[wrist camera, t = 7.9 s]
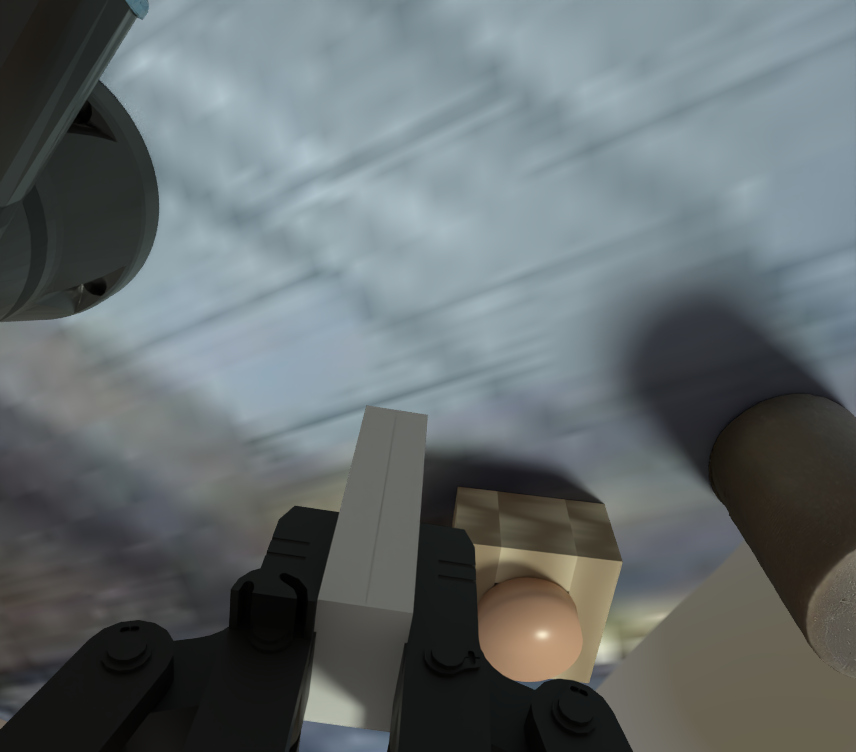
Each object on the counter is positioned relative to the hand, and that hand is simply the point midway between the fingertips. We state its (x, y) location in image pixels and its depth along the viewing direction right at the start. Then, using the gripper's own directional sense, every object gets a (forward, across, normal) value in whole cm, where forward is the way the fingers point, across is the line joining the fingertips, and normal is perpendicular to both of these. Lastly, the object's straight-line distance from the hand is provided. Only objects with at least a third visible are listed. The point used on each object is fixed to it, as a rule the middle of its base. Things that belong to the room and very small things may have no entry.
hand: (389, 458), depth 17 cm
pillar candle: (+25, +25, -11) cm, 37 cm away
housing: (+25, +10, -22) cm, 34 cm away
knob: (+24, +10, -22) cm, 34 cm away
